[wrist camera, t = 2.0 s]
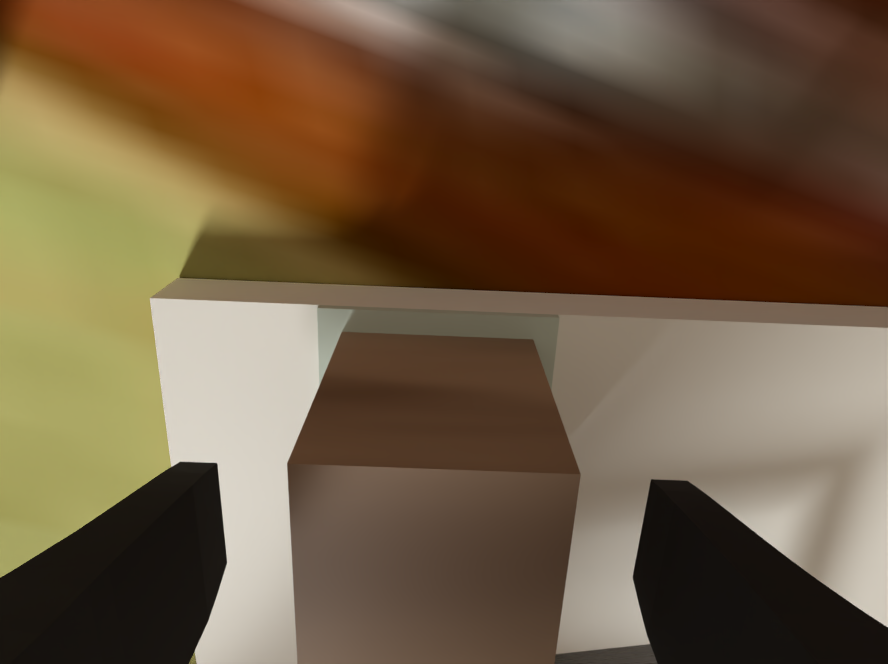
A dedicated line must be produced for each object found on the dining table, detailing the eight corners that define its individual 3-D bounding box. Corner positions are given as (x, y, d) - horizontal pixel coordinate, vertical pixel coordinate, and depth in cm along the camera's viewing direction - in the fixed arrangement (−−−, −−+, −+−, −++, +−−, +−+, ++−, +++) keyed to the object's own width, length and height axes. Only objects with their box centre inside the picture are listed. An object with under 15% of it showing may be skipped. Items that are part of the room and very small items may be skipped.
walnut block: (516, 499, 15) (551, 689, 10) (344, 493, 15) (298, 681, 10) (533, 339, 13) (580, 474, 9) (341, 332, 13) (286, 463, 9)
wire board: (766, 847, 22) (791, 906, 20) (238, 833, 22) (222, 892, 20) (952, 309, 15) (1012, 336, 13) (177, 277, 15) (146, 300, 13)
